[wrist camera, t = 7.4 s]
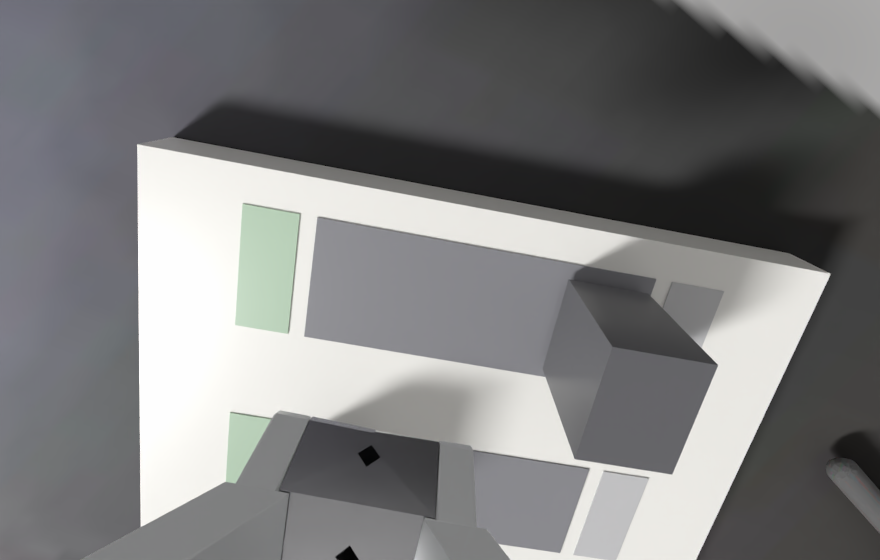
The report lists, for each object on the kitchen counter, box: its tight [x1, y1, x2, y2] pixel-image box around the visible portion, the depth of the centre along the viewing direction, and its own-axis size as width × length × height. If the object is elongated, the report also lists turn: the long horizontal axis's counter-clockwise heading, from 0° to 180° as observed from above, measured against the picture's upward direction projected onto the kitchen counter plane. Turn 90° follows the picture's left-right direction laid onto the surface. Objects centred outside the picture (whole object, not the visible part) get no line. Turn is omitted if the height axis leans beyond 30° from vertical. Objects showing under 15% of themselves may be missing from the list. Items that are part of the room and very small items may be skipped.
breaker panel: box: [137, 137, 830, 560], centre depth 19 cm, size 20×20×2 cm
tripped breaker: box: [543, 279, 718, 475], centre depth 14 cm, size 2×3×4 cm
